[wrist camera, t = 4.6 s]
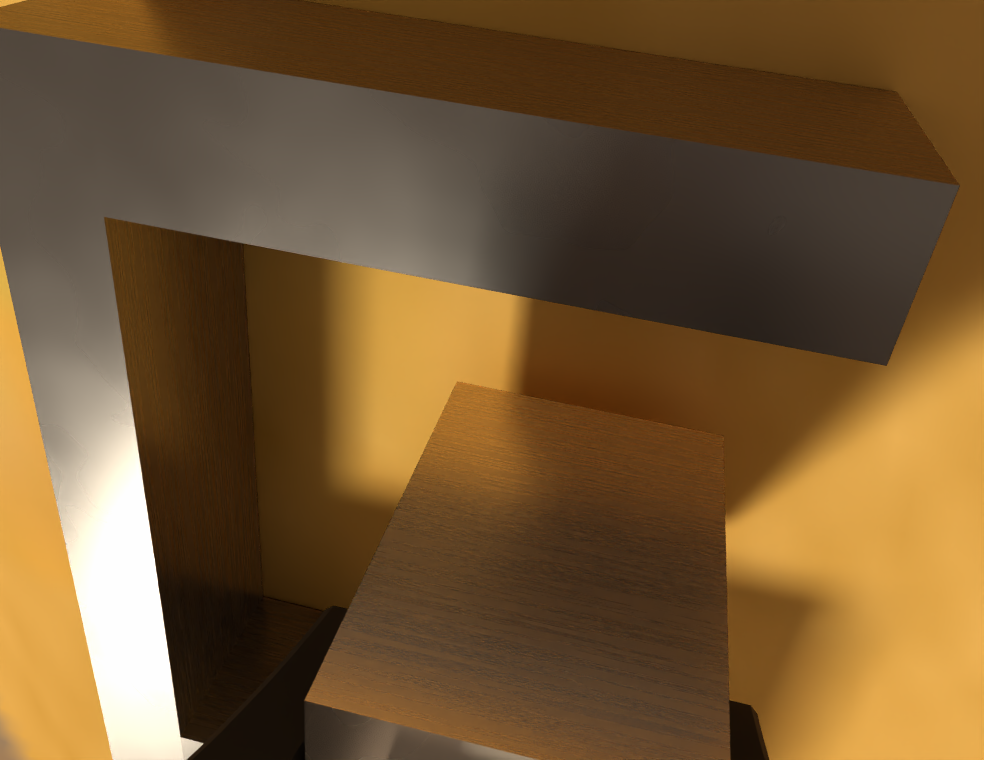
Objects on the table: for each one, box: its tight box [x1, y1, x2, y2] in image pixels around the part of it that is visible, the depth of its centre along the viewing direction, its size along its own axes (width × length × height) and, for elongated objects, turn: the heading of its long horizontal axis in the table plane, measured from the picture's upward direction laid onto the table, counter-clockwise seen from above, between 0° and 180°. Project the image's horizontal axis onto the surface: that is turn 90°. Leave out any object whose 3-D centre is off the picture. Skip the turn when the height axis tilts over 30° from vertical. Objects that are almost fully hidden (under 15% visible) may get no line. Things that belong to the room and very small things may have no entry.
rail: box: [0, 0, 960, 760], centre depth 16 cm, size 22×10×4 cm, turn 175°
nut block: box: [304, 382, 730, 760], centre depth 11 cm, size 4×4×7 cm
